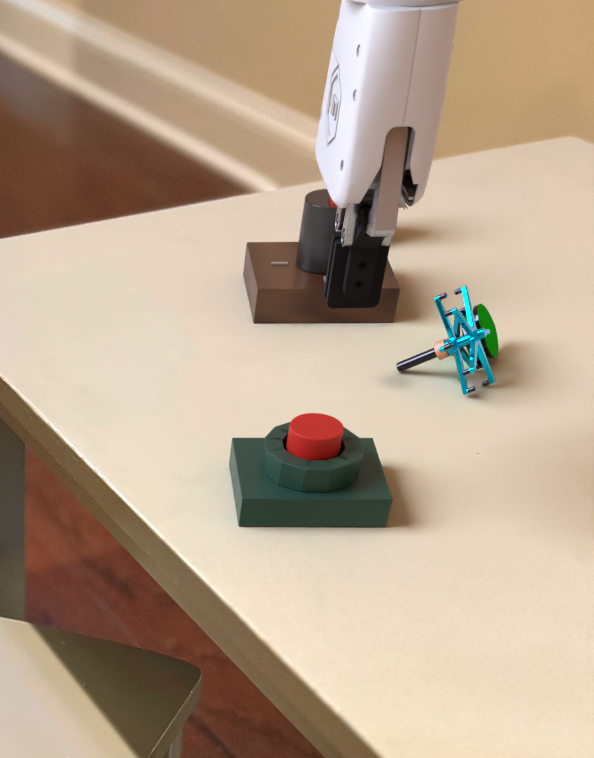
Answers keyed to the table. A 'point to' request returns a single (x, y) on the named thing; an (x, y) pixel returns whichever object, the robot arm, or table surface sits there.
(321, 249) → the dial
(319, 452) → the red push button
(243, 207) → the table surface
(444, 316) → the stick construction toy
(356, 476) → the button base
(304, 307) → the panel
